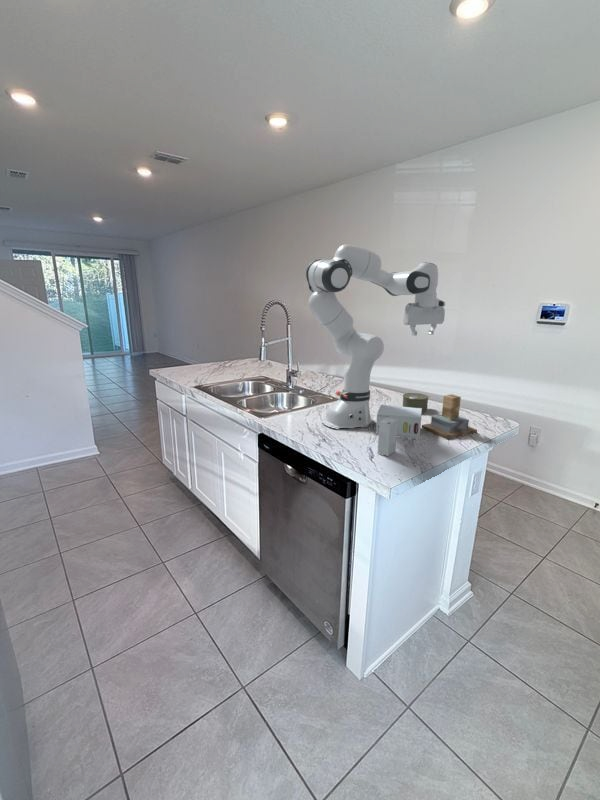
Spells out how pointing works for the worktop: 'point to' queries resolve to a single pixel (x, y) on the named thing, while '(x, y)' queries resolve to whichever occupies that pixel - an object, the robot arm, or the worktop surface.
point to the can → (415, 401)
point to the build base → (448, 435)
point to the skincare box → (387, 436)
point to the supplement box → (402, 419)
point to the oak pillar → (451, 406)
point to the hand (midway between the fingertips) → (422, 334)
